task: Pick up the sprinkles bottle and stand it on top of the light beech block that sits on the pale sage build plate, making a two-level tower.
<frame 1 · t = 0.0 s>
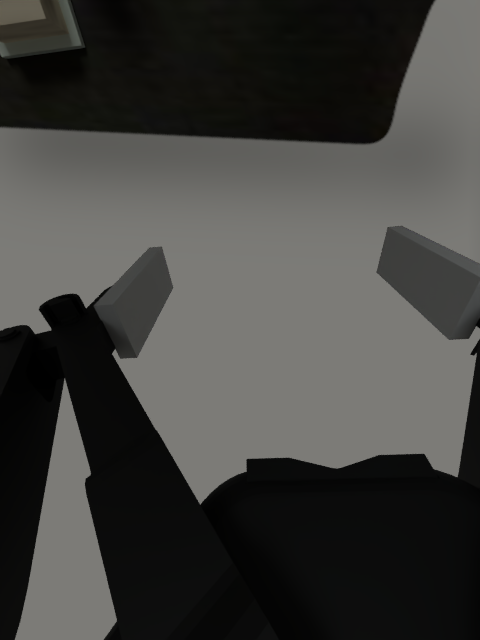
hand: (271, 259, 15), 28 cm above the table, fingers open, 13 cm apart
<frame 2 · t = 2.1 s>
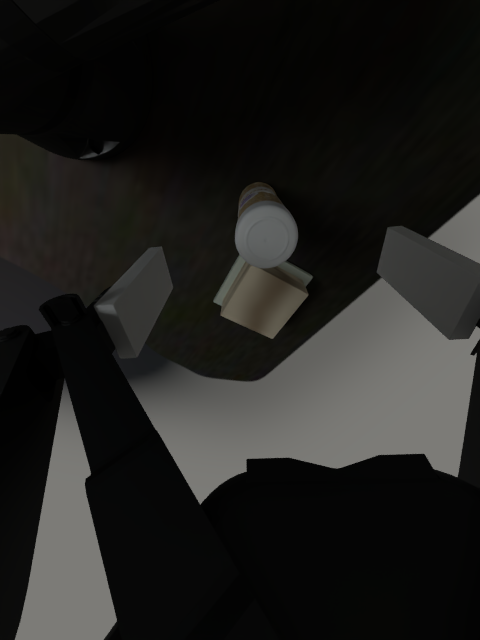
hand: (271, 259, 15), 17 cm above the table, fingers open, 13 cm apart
sprinkles bottle: (257, 203, 28), on the table
beech block: (261, 290, 34), point 1 cm above the table, touching build plate
build plate: (261, 287, 34), on the table
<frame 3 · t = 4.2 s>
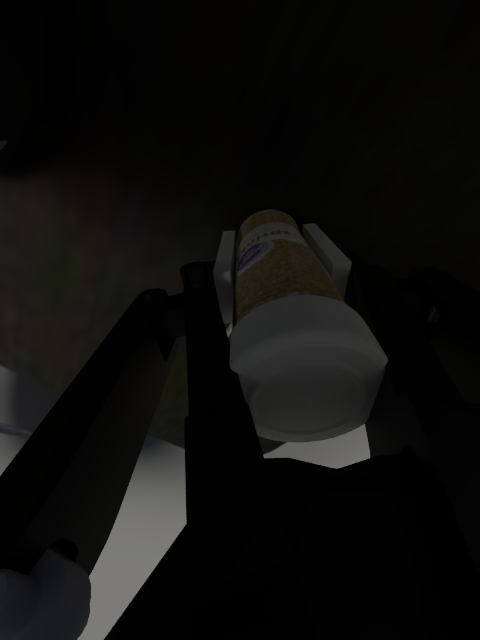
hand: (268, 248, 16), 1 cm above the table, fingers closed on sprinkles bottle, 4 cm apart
sprinkles bottle: (267, 241, 18), on the table, touching gripper
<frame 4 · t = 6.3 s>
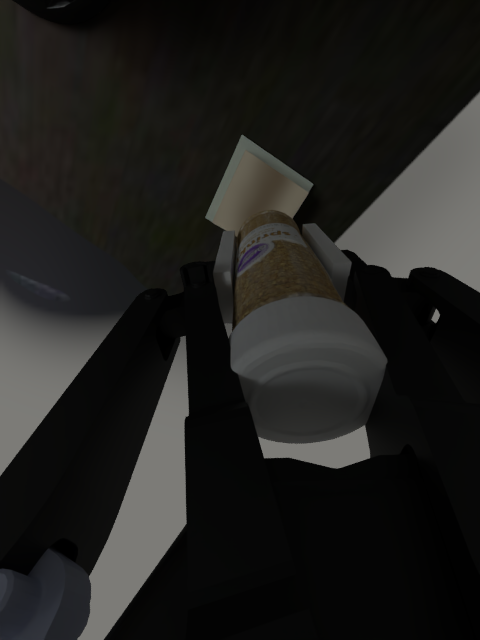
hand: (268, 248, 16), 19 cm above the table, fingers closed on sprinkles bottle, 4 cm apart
sprinkles bottle: (267, 242, 18), point 17 cm above the table, touching gripper
beech block: (257, 201, 31), point 1 cm above the table, touching build plate
build plate: (256, 200, 32), on the table
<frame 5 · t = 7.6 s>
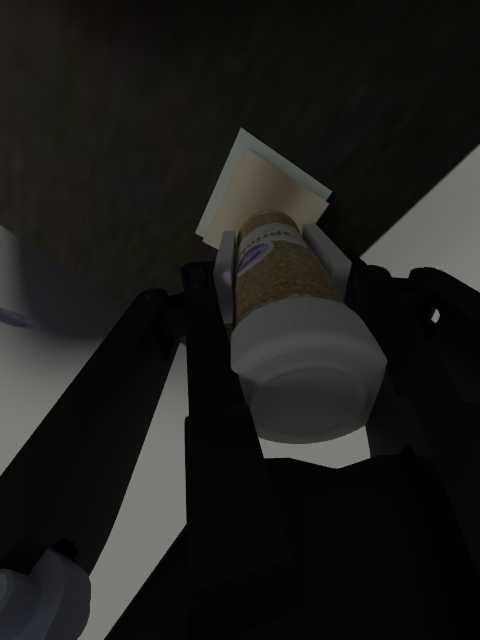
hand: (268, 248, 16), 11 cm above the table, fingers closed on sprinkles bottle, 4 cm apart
sprinkles bottle: (267, 242, 18), point 10 cm above the table, touching gripper
beech block: (260, 213, 25), point 1 cm above the table, touching build plate
build plate: (260, 211, 25), on the table
when the fingers open (7 cm above the table, at t = 8.6 s): sprinkles bottle drops 1 cm, resting on beech block.
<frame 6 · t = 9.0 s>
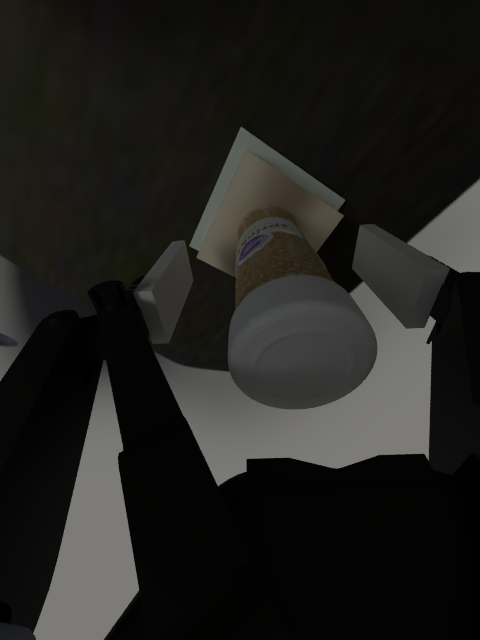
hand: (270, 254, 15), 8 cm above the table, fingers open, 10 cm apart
sprinkles bottle: (266, 236, 18), point 5 cm above the table, touching beech block
beech block: (263, 224, 22), point 1 cm above the table, touching build plate, sprinkles bottle
build plate: (262, 222, 22), on the table
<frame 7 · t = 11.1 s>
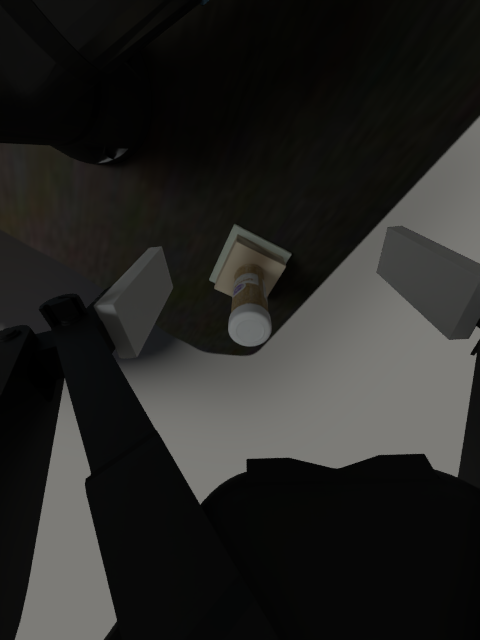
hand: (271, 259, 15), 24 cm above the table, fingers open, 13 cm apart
sprinkles bottle: (249, 277, 36), point 5 cm above the table, touching beech block
beech block: (248, 267, 40), point 1 cm above the table, touching build plate, sprinkles bottle
build plate: (248, 265, 40), on the table
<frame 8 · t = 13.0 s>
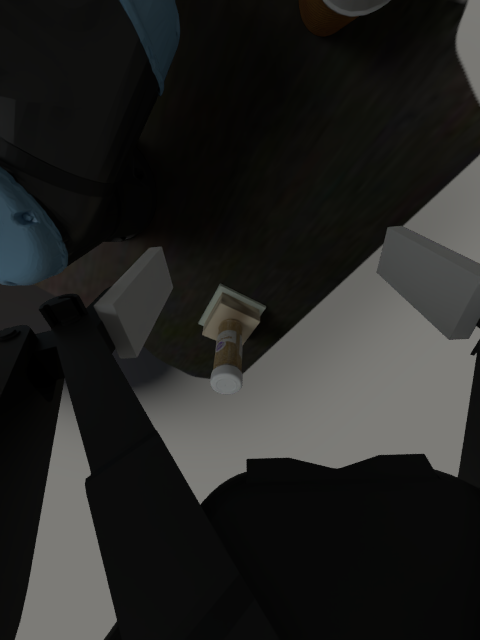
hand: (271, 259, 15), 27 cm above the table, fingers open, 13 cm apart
sprinkles bottle: (230, 327, 45), point 5 cm above the table, touching beech block
beech block: (231, 316, 48), point 1 cm above the table, touching build plate, sprinkles bottle
build plate: (231, 313, 49), on the table
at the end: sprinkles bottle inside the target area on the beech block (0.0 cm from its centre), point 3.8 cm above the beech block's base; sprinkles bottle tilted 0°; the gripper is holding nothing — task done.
